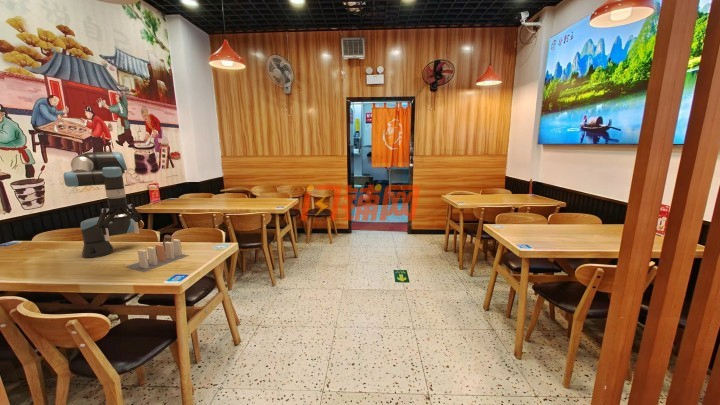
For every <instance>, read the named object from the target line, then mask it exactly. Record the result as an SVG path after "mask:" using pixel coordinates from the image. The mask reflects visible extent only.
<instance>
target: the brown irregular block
mask: <svg viewBox="0 0 720 405" xmlns="http://www.w3.org/2000/svg"><path fill="white" fill-rule="evenodd" d="M172 238H173V236H172V235H170V234H165V235H164V236H163V240H162V241H163V242H162V243H160V244H161V245H164V248H165V243H164V242H172V240H173V239H172ZM154 248H156V246H155V247H154ZM156 255H157V250H156Z"/></svg>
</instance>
